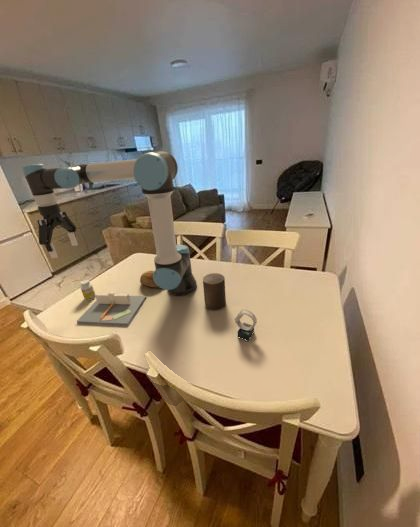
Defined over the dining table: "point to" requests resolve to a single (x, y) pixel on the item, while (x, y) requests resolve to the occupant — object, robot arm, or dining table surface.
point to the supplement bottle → (87, 290)
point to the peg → (112, 299)
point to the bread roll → (148, 279)
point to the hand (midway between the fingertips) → (65, 251)
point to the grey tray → (112, 312)
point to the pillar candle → (214, 291)
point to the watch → (245, 324)
